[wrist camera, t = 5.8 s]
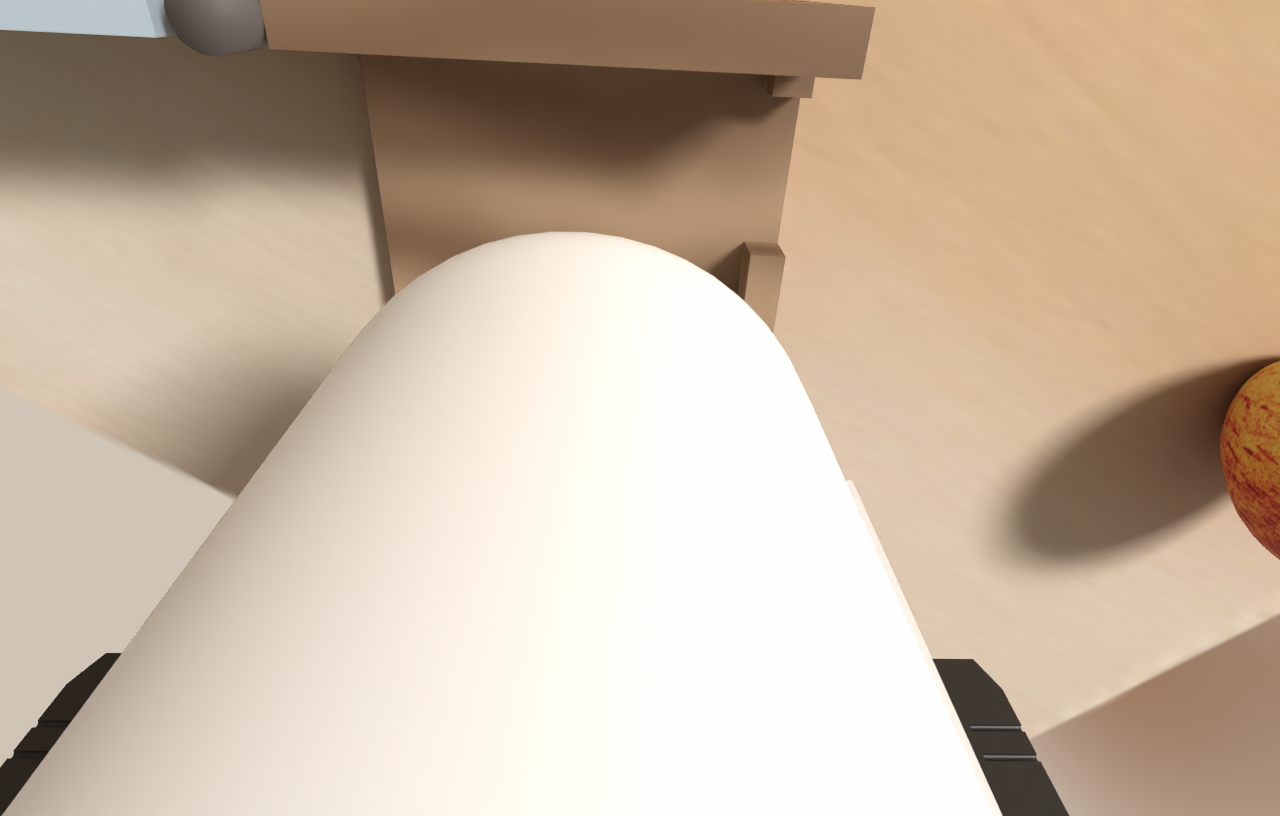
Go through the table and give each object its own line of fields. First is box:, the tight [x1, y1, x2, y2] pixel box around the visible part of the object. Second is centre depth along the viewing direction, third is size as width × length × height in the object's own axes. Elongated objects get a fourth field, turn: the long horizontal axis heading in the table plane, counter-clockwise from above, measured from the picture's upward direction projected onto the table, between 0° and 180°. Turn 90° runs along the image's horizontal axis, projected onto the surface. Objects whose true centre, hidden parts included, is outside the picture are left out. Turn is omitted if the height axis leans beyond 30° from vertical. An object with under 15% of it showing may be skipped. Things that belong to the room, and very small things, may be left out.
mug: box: [2, 232, 993, 816], centre depth 10 cm, size 9×12×11 cm
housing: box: [164, 0, 875, 333], centre depth 23 cm, size 18×16×8 cm
